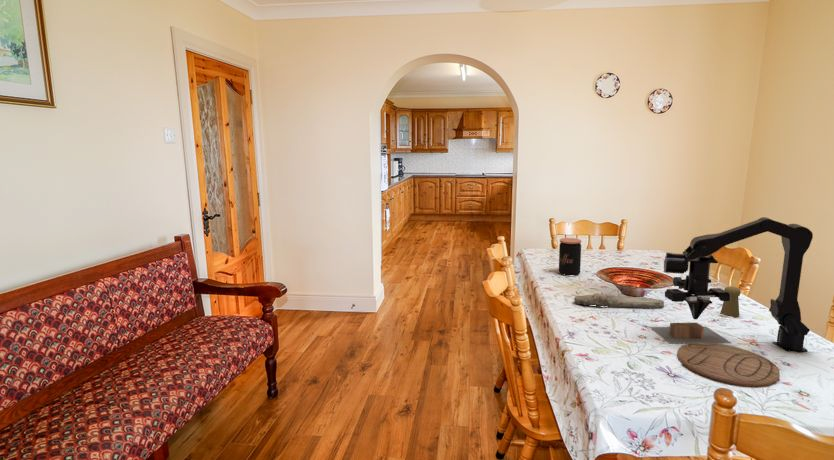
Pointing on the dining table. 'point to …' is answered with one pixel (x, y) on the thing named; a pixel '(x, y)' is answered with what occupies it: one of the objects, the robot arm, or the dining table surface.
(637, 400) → the dining table surface
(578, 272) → the coffee jar
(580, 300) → the long grey stone
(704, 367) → the trivet
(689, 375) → the dining table surface
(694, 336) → the walnut block
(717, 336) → the rubber mat
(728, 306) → the cork
